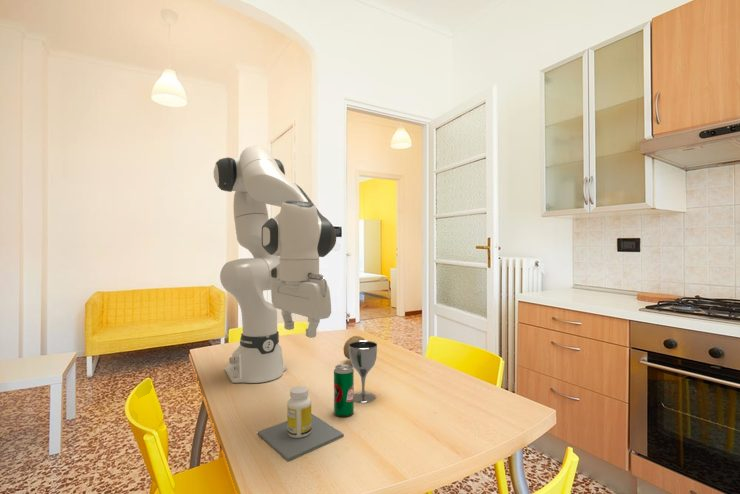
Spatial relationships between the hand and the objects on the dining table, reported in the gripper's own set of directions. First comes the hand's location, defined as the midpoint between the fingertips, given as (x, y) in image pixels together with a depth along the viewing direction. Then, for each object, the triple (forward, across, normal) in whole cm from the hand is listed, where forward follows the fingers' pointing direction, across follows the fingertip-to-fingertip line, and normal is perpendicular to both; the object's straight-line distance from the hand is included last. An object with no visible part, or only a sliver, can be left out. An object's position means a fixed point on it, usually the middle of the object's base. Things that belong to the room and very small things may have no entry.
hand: (299, 332), depth 82 cm
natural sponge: (+24, +30, -41) cm, 56 cm away
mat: (+23, 0, 0) cm, 23 cm away
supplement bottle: (+23, 0, 0) cm, 23 cm away
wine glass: (+24, +6, -24) cm, 34 cm away
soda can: (+24, +2, -14) cm, 27 cm away
